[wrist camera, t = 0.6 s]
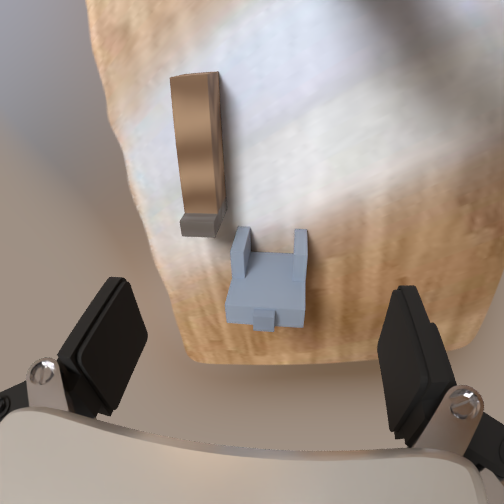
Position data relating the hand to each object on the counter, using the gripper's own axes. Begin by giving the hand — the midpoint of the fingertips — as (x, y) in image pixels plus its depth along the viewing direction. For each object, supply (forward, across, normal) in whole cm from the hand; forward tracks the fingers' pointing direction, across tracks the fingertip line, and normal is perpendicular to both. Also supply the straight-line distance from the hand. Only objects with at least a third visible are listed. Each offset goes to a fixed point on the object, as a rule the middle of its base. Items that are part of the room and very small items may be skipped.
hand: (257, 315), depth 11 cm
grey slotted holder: (+30, +2, +15) cm, 34 cm away
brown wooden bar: (+30, +9, 0) cm, 31 cm away
